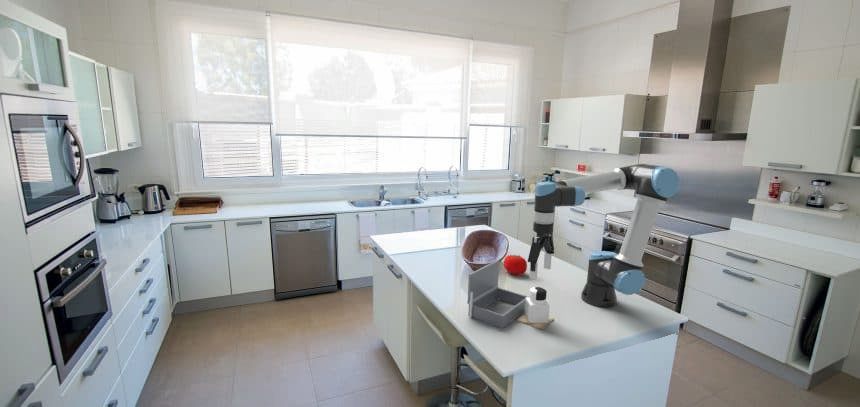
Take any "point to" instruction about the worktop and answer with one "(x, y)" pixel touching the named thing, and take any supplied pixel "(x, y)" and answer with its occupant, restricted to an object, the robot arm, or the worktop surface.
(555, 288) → the worktop surface
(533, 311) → the container
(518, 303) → the case
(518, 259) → the tomato
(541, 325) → the mat
